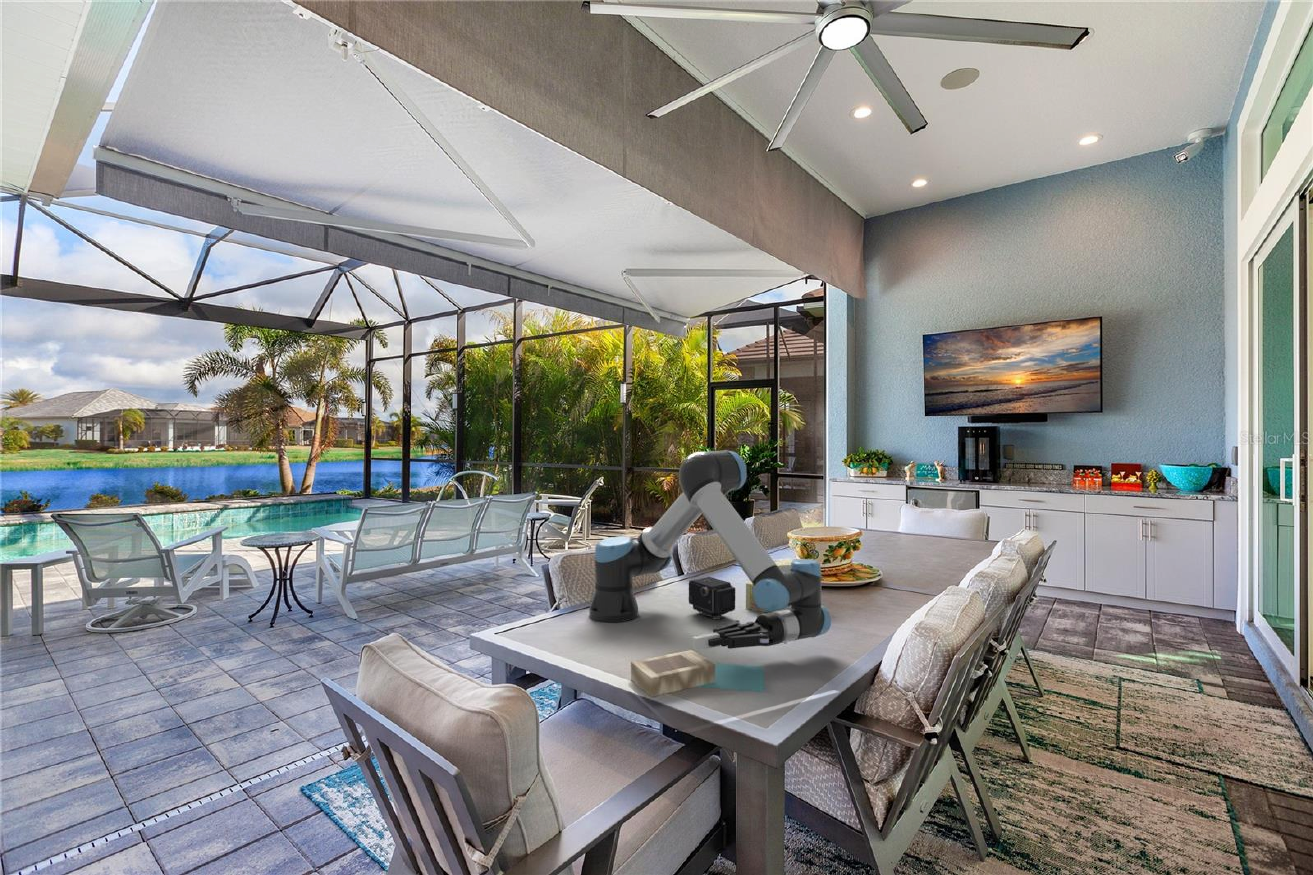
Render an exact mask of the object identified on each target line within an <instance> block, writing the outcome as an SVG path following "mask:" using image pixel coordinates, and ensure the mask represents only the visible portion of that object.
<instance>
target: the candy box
mask: <svg viewBox="0 0 1313 875" xmlns="http://www.w3.org/2000/svg"><path fill="white" fill-rule="evenodd" d="M753 589H754V585H753V583H752V582H747V583H745V610H750V609H753V610H752V611H756V610H759V612H762V611H763V612H764V613H773V612H776V611H782V610H789V609H791V605H790V606H787V607H785V608H783V609H781V610H776V611H771V612H768V611H764V610H762V609H761V608H759V607H758V606H757V604H756V603H755V601H754V596H753Z"/></svg>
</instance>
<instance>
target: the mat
mask: <svg viewBox="0 0 1313 875" xmlns="http://www.w3.org/2000/svg"><path fill="white" fill-rule="evenodd" d="M713 663H714V664H715V682H713V683H709V684H705V685H700V686H696V687H695V688H705V689H720V690H721V689H723V690H733V691H735V690H736V691H745V692H746V691H749V692H760V693H761V692H762V693H763V692H764V693H765V677H764V676H765V672H764V666H763V665H750V664H749V665H748V664H746V665H745V664H744V665H743V664H733V663H732V664H731V663H716V662H713Z"/></svg>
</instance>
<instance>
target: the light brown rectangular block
mask: <svg viewBox="0 0 1313 875" xmlns="http://www.w3.org/2000/svg"><path fill="white" fill-rule="evenodd" d="M714 663H715V662H712V661H711V660H709V659H708V658H706V657H704V656H703V655H701V654H700V653H697V652H696V650H694V649H689V650H688V649H687V650H685V651H684V650H683V651H679V652H674V653H668V654H664V655H659V656H654V657H648V658H643V659H637V660H635V661H634V660H632V661H631V662H630V680H631V681H632V682H633V683H635V685H636V686H638V687H639V688H640V689H642V690H643V691H644V692H645V693H646V694H647V695H648V696H650V697H651V698H652V697H656V696H661V695H665V694H666V695H667V694H669V693H674V692H677V691H683V690H688V689H691V688H697V687H696V686H700V685H705V684H709V683H713V682H715V664H714Z"/></svg>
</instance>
